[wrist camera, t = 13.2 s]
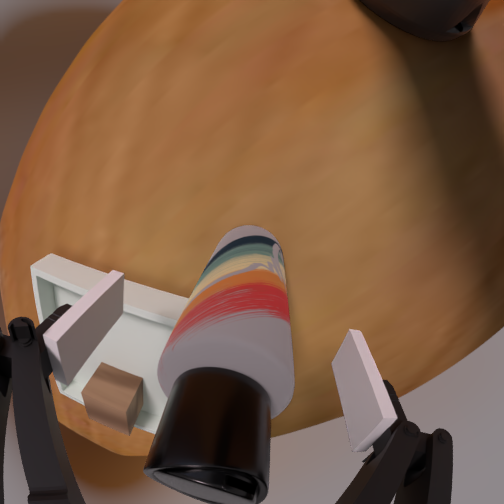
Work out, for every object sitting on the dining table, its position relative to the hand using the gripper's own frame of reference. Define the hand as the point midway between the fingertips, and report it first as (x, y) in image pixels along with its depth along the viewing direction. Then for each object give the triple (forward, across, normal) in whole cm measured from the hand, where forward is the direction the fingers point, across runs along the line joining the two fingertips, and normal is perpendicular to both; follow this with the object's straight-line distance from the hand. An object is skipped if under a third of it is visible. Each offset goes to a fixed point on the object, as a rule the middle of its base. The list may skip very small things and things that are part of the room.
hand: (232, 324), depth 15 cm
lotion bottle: (+10, 0, 0) cm, 10 cm away
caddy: (+10, -11, -15) cm, 21 cm away
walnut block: (+8, -11, -19) cm, 24 cm away
